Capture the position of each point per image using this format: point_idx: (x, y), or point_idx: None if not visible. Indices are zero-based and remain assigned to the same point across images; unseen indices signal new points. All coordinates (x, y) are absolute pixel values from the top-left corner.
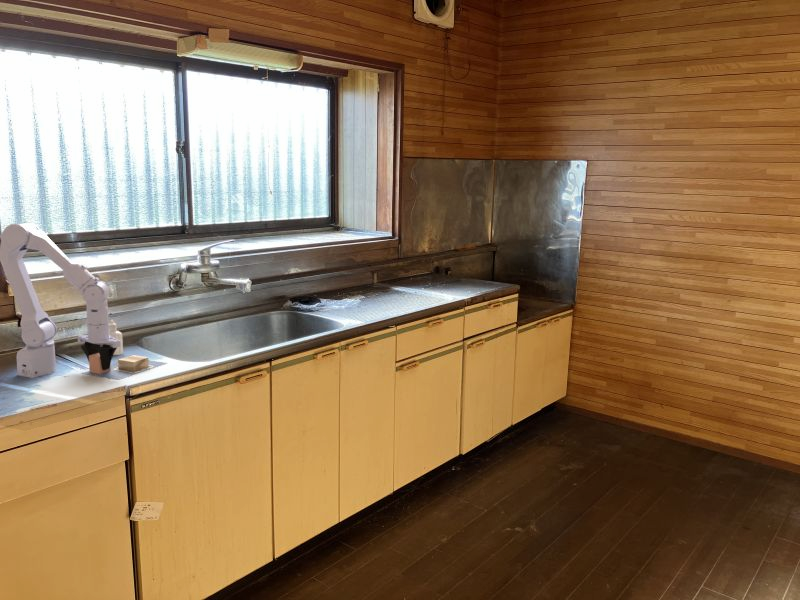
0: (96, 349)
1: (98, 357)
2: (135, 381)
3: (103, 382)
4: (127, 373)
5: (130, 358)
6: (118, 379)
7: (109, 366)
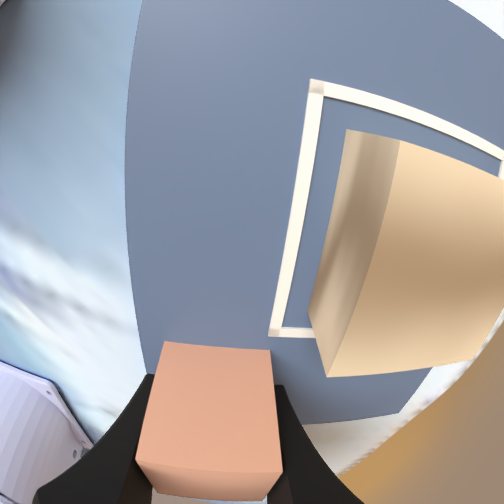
0: (130, 499)
1: (255, 499)
2: (453, 365)
3: (331, 424)
4: None
5: (434, 301)
6: (396, 411)
7: (286, 398)
